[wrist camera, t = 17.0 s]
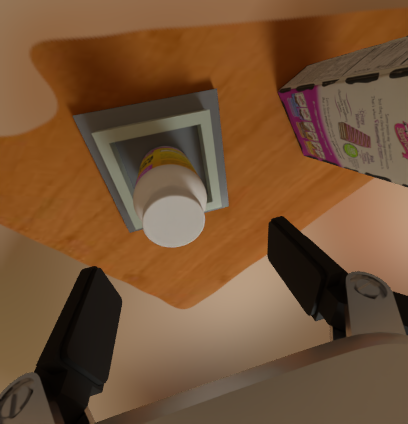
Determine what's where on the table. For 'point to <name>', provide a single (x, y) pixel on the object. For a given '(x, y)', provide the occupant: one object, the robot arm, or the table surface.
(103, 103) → the table surface
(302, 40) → the table surface
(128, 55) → the table surface
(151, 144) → the tray
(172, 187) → the supplement bottle
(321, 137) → the candy bar box
